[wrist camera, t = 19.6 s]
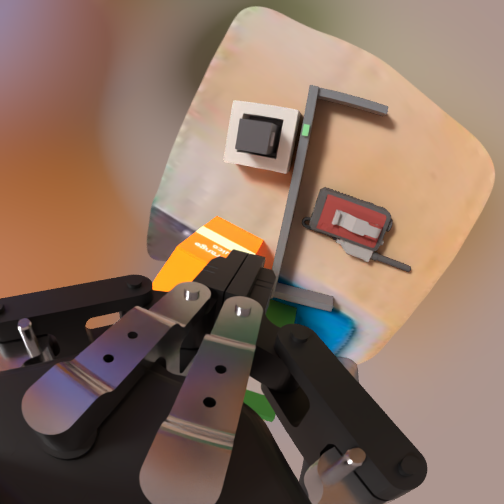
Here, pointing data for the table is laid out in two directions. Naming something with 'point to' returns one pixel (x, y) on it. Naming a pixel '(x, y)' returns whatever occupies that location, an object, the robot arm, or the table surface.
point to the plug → (257, 136)
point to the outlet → (264, 113)
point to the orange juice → (204, 252)
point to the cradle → (314, 93)
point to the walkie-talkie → (352, 225)
